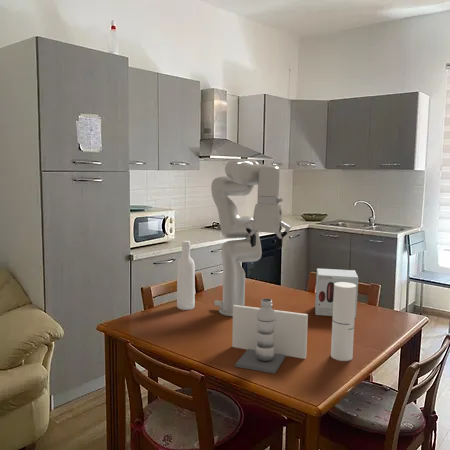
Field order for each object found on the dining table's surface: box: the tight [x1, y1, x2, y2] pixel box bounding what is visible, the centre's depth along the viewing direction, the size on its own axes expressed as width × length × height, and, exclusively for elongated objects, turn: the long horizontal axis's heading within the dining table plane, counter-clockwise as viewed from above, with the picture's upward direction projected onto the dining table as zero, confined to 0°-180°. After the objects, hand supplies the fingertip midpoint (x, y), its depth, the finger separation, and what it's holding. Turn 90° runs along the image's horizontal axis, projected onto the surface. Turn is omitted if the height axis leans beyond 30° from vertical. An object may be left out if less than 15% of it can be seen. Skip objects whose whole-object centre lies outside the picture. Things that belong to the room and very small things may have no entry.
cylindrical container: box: [330, 282, 356, 362], centre depth 158 cm, size 7×7×25 cm
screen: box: [231, 305, 309, 360], centre depth 162 cm, size 26×2×15 cm, turn 69°
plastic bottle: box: [255, 297, 276, 361], centre depth 153 cm, size 6×7×20 cm
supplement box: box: [314, 267, 359, 319], centre depth 207 cm, size 17×13×18 cm
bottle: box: [176, 240, 196, 311], centre depth 210 cm, size 8×8×30 cm
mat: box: [234, 349, 286, 374], centre depth 155 cm, size 13×13×1 cm
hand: (266, 247), depth 171 cm, fingers open, 9 cm apart
